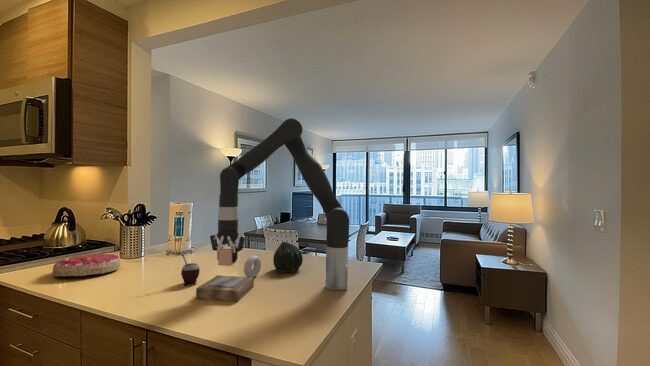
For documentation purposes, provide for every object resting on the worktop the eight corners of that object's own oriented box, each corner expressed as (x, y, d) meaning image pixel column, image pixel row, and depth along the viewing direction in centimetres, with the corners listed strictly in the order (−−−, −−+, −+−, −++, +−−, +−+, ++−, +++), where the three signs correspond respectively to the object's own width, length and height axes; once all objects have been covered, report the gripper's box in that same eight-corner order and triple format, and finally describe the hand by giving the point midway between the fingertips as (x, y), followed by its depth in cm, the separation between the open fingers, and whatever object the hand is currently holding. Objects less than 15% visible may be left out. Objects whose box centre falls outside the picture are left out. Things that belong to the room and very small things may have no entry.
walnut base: (253, 287, 122) (253, 276, 122) (237, 302, 106) (237, 290, 106) (217, 284, 124) (217, 274, 124) (196, 299, 108) (196, 287, 108)
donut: (247, 281, 130) (248, 258, 130) (241, 279, 131) (242, 257, 131) (262, 275, 139) (263, 253, 139) (256, 274, 140) (257, 253, 140)
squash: (312, 259, 148) (297, 235, 153) (294, 267, 136) (277, 240, 141) (296, 274, 154) (281, 250, 159) (277, 283, 142) (261, 256, 147)
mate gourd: (202, 282, 127) (203, 247, 127) (187, 288, 120) (188, 251, 120) (190, 280, 130) (191, 245, 130) (174, 285, 123) (175, 249, 123)
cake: (75, 281, 122) (76, 261, 123) (37, 277, 130) (39, 258, 131) (132, 269, 145) (133, 253, 146) (96, 266, 154) (97, 251, 154)
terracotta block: (236, 262, 118) (236, 247, 118) (230, 265, 113) (230, 250, 113) (224, 261, 118) (224, 246, 118) (218, 265, 113) (218, 249, 113)
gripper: (249, 217, 119) (248, 260, 118) (215, 216, 120) (214, 258, 120) (241, 220, 111) (240, 265, 111) (206, 218, 113) (204, 263, 113)
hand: (227, 261), depth 116 cm, fingers closed on terracotta block, 5 cm apart
